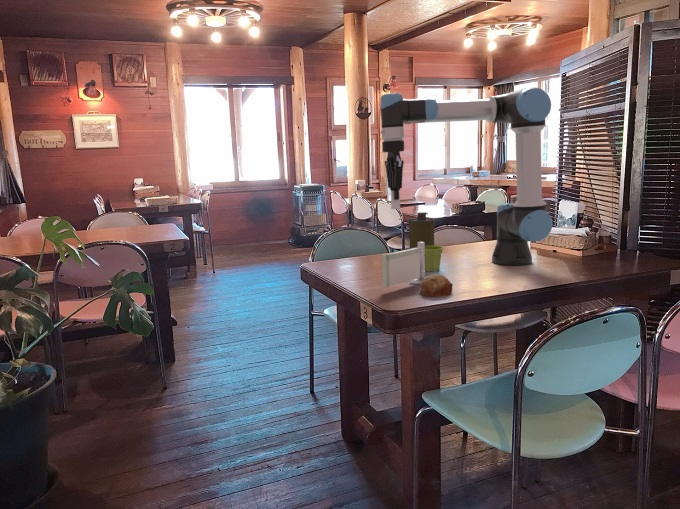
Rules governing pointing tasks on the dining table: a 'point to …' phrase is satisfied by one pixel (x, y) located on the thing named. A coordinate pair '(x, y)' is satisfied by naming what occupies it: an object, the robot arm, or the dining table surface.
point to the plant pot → (432, 257)
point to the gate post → (422, 264)
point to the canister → (421, 230)
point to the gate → (400, 266)
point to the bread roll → (436, 286)
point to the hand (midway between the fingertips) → (395, 208)
